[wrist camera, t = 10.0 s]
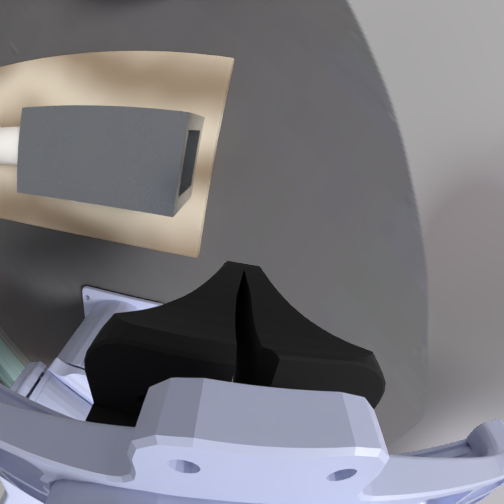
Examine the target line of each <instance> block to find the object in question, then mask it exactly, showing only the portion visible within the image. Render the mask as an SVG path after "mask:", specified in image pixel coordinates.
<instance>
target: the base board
mask: <svg viewBox="0 0 504 504" xmlns="http://www.w3.org/2000/svg"><path fill="white" fill-rule="evenodd" d="M233 66H234V58H229V57H221V56H213V55H204V54H193V53H180V52H162V51H112V52H94V53H81V54H71V55H63V56H55V57H48V58H42V59H36V60H31V61H25V62H20V63H16V64H11V65H7V66H3V67H0V127H20V121H21V113H22V108H23V107H38V106H62V105H101V106H126V107H142V108H155V109H166V110H175V111H184V112H191V113H194V114H197V115H200V116H203V117H205V120H204V125H203V130H202V136H201V141H200V147H199V152H198V158H197V164H196V170H195V176H194V183H193V189H192V196H191V198H190V199H189V200H188V201H187V202H186V203H185V204H184V206H183V207H182V208H181V209H180V210H179V211H178V212H177V213H176V215H175V216H174V217H168V216H162V215H157V214H151V213H145V212H139V211H133V210H127V209H121V208H115V207H109V206H103V205H97V204H90V203H84V202H78V201H71V200H65V199H58V198H52V197H45V196H38V195H31V194H25V193H18V192H17V165H11V164H0V218H3V219H7V220H12V221H16V222H21V223H26V224H30V225H35V226H40V227H45V228H49V229H54V230H59V231H64V232H69V233H73V234H78V235H83V236H88V237H93V238H98V239H103V240H108V241H113V242H118V243H123V244H128V245H133V246H138V247H143V248H149V249H154V250H159V251H164V252H169V253H175V254H180V255H185V256H191V257H196V258H197V257H198V254H199V251H200V244H201V237H202V231H203V224H204V218H205V211H206V205H207V199H208V193H209V187H210V181H211V175H212V170H213V164H214V158H215V153H216V148H217V142H218V137H219V132H220V127H221V122H222V117H223V112H224V107H225V102H226V97H227V93H228V88H229V83H230V79H231V74H232V70H233Z"/></svg>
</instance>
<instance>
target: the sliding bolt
mask: <svg viewBox="0 0 504 504" xmlns="http://www.w3.org/2000/svg"><path fill="white" fill-rule="evenodd" d="M19 131H20V127H0V164H11V165H17V159H18V143H19Z"/></svg>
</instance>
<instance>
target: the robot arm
mask: <svg viewBox="0 0 504 504" xmlns="http://www.w3.org/2000/svg"><path fill="white" fill-rule="evenodd" d="M82 294H83V304H84V313H85V319H84V320H83V322H82V323H81V324H80V326H79V327H78V329H77V330H76V331H75V333H74V334H73V335H72V337H71V338H70V339H69V341H68V342H67V344H66V345H65V346H64V348H63V349H62V351H61V352H60V354H59V355H58V356H57V357H56V358H55V359H54V361H53V362H52V363H51V365H50V366H49V368H48V369H47V371H46V370H44V369H45V368H46V365H45V364H44V363H43V362H41V361H39V362H30V363H29V364H28V365H27V366H26V367H25V369H24V370H23V371H22V373H21V374H20V375H19V377H18V378H17V379H16V381H15V382H14V384H13V385H12V387H11V388H10V389H9V388H7V387H5V386H4V385H2V384H0V481H1V482H2V484H3V486H4V488H5V491H4V494H3V496H2V498H1V500H0V504H476V503H478V502H480V501H481V500H483V499H484V498H485V497H487V496H488V495H489V494H491V493H492V492H493V491H495V490H496V489H497V488H499V487H500V486H501V485H502V484H504V424H503V422H502V421H501V419H500V418H498V419H495V420H491V421H488V422H485V423H482V424H481V425H479V426H478V427H476V428H475V429H474V430H473V431H472V432H471V433H470V435H469V436H468V437H467V439H464V440H461V441H457V442H453V443H449V444H446V445H441V446H437V447H433V448H428V449H423V450H418V451H413V452H407V453H401V454H395V455H391V454H388V451H387V448H386V445H385V442H384V439H383V435H382V432H381V429H380V426H379V423H378V421H377V418H376V415H375V412H374V408H375V407H376V406H377V404H378V403H379V401H380V400H381V398H382V396H383V394H384V391H385V384H386V383H385V379H384V376H383V373H382V371H381V369H380V366H379V364H378V362H377V360H376V358H375V356H374V354H373V352H371V351H369V350H366V349H364V348H361V347H358V346H356V345H353V344H351V343H348V342H346V341H344V340H342V339H340V338H338V337H336V336H334V335H332V334H330V333H328V332H327V331H325V330H323V329H322V328H320V327H318V326H317V325H315V324H314V323H312V322H311V321H310V320H308V319H307V318H305V317H304V316H303V315H302V314H301V313H299V312H298V311H297V310H296V309H295V308H293V307H292V306H291V305H290V304H289V303H288V302H287V301H286V300H285V299H284V297H283V296H282V295H281V294H280V293H279V292H278V291H277V290H276V288H275V287H274V286H273V285H272V283H271V282H270V281H269V279H268V278H267V276H266V275H265V273H264V272H263V271H262V269H261V268H260V266H254V265H248V264H242V263H236V262H231V261H227V262H226V263H224V265H223V266H222V267H221V268H220V270H219V271H218V272H217V273H216V274H215V275H213V276H212V277H211V278H210V279H209V280H208V281H207V282H205V283H204V284H203V285H201V286H200V287H199V288H197V289H196V290H194V291H193V292H191V293H189V294H187V295H186V296H184V297H181V298H179V299H176V300H174V301H171V302H169V303H166V304H162V303H158V302H153V301H148V300H144V299H139V298H135V297H131V296H126V295H122V294H118V293H114V292H110V291H106V290H102V289H98V288H94V287H90V286H85V287H84V288H83V289H82ZM87 295H88V296H89V298H88V297H87ZM41 376H42V378H40V377H41ZM232 377H233V382H232Z"/></svg>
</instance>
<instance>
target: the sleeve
mask: <svg viewBox="0 0 504 504" xmlns="http://www.w3.org/2000/svg"><path fill="white" fill-rule="evenodd" d="M204 120H205V117H203V116H200V115H197V114H194V113H191V112H184V111H175V110H166V109H155V108H142V107H126V106H101V105H62V106H38V107H23V108H22V113H21V121H20V131H19V143H18V159H17V192H18V193H25V194H31V195H38V196H45V197H52V198H58V199H65V200H71V201H78V202H84V203H90V204H97V205H103V206H109V207H115V208H121V209H127V210H133V211H139V212H145V213H151V214H157V215H162V216H168V217H174V216H175V215H176V213H177V212H178V211H179V210H180V209H181V208H182V207H183V206H184V204H185V203H186V202H187V201H188V200H189V199H190V198H191V196H192V189H193V183H194V176H195V170H196V164H197V158H198V152H199V147H200V141H201V136H202V130H203V125H204Z"/></svg>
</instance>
